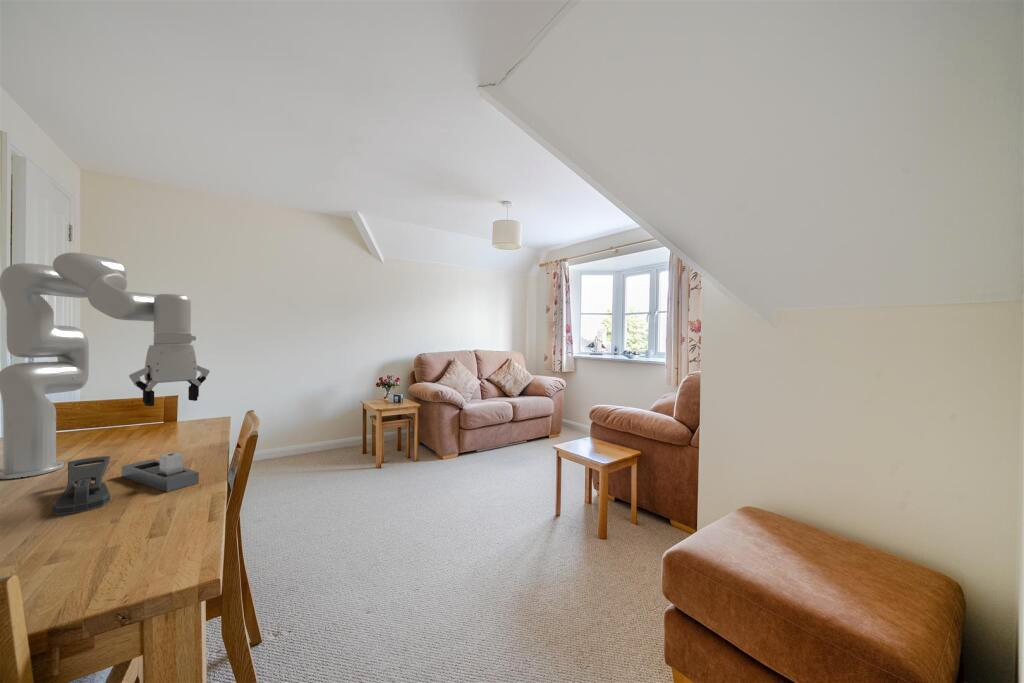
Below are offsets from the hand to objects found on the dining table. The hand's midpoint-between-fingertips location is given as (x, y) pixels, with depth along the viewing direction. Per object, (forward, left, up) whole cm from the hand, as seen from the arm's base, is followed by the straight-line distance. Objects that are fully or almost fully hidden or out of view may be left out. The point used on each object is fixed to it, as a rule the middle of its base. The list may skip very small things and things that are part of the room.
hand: (172, 402), depth 104 cm
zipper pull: (-9, -13, -22) cm, 28 cm away
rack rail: (-6, 0, -22) cm, 23 cm away
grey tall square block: (0, 0, -22) cm, 22 cm away
